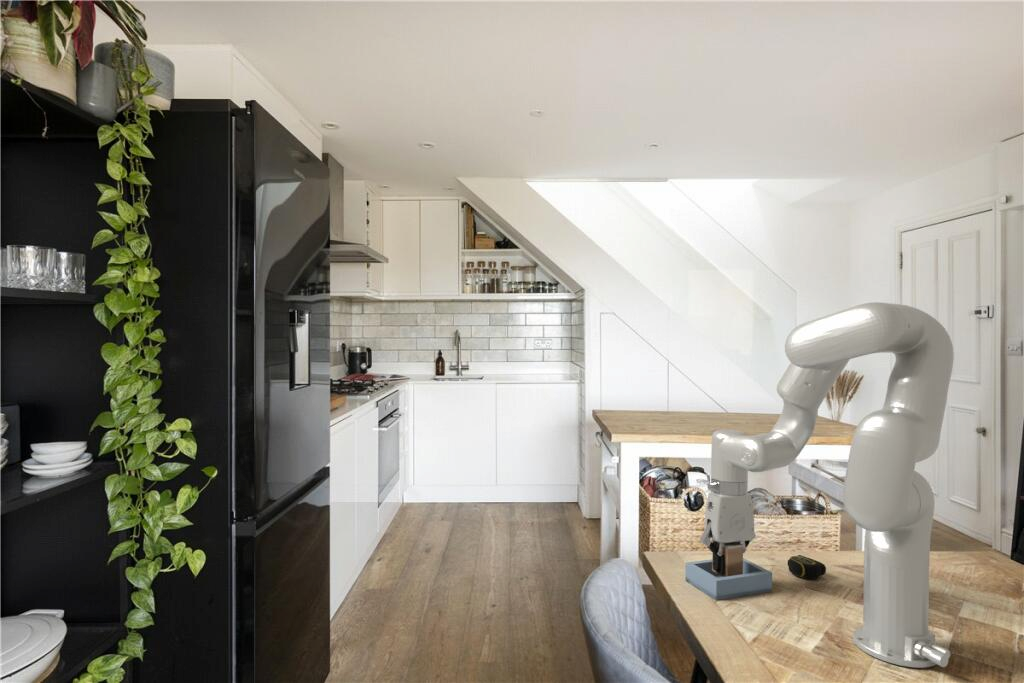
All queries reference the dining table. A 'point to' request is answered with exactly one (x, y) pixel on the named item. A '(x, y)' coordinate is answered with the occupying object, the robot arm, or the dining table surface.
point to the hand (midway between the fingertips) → (727, 569)
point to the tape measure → (806, 567)
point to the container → (728, 580)
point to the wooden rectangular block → (732, 559)
